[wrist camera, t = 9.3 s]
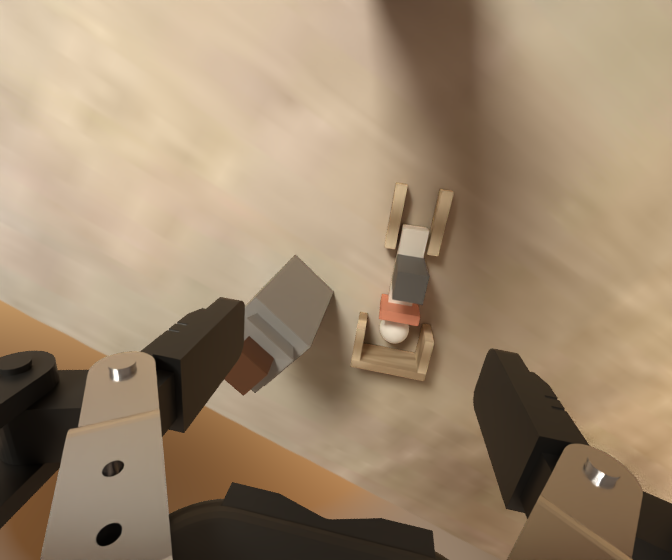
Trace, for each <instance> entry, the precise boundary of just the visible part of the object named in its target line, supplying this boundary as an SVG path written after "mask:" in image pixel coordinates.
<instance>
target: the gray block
mask: <svg viewBox="0 0 672 560" xmlns="http://www.w3.org/2000/svg"><path fill="white" fill-rule="evenodd" d="M428 235H429V230H428V228H426V227H419V226H413V225H407V224H403V225H402V230H401V235H400V240H399V245H398V250H397V255H396V260H395V265H394V270H393V275H392V280H391V285H390V290H389V295H386V294H382V297H381V302H380V314H379V319H382V320H387V321H392V322H398V323H403V324H409V325H414V326H418V324H419V320H420V312H419V306H418V304H420V305H423V301H424V297H425V293H426V289H427V285H428V281H429V277H430V276H429V273H428V270H427V266H426V263H425V260H424V258H423V257H424V253H425V248H426V244H427V240H428Z"/></svg>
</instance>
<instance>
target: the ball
mask: <svg viewBox="0 0 672 560" xmlns="http://www.w3.org/2000/svg"><path fill="white" fill-rule="evenodd" d="M408 333H409V325H408V324H403V323H398V322H392V321H387V320H382V321H381V323H380V334H381V336H382V337H383V339H384V340H386V341H387V342H389V343H394V344H395V343H400V342H402V341H404V340H405V339H406V337H407V336H408Z"/></svg>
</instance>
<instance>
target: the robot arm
mask: <svg viewBox="0 0 672 560" xmlns="http://www.w3.org/2000/svg"><path fill="white" fill-rule="evenodd" d="M244 323H245V305H244V302H243V301H239V300H234V299H228V298H223V297H220V298H219V299H217V300H216V301H215V302H214V303H213V304H211V305H210V306H209V307H208V308H207V309H203V308H202V309H199V310H197V311H194V312H191V313H189V314H187V315H186V316H185V317H183V318H182V319H181V320H179V321H178V322H177V324H174V325H173V326H172V327H171V328H169V331H166V332H164V333H163V334H162V335H160V336H159V337H158V338H157V339H155V340H154V341H153V342H152V343H150V344H149V345H148V346H147V347H145V348H144V349H143V350H141V351H140V352H137V351H129V352H121V353H117V354H113V355H110V356H107V357H105V358H103V359H101V360H99V361H98V362H96V363H95V364H94V365H93V366H92V367H91V368H90V369H89V370H57V366H56V360H55V357H54V356H53V355H52V354H50V353H48V352H44V351H25V352H18V353H14V354H10V355H6V356H3V357H0V528H2V527H3V526H4V524H6V522H7V521H8V520H9V519H10V518H11V517H12V516H13V515H14V514H15V513H16V512H17V511H18V510H19V509H20V508H21V507H22V506H23V505H24V504H25V503H26V502H27V501H28V500H29V499H30V498H31V497H32V496H33V494H35V493H36V492H37V491H38V490H39V488H41V486H43V484H44V483H45V482H46V481H47V480H48V479H49V478H50V477H51V476H52V475H53V474H54V473H55V472H56V471H57V470H58V469H59V468H60V469H59V474H58V478H57V483H56V488H55V493H54V497H53V502H52V507H51V511H50V516H49V521H48V525H47V530H46V535H45V540H44V544H43V549H42V554H41V559H40V560H448V559H447V558H445V557H444V556H442V555H441V554H439V553H437V552H435V550H434V541H433V531H432V530H427V529H423V528H419V527H415V526H411V525H407V524H402V523H398V522H394V521H390V520H386V519H382V518H376V519H375V518H373V519H336V520H335V519H334V520H332V519H326V518H323V517H321V516H319V515H318V514H316V513H314V512H312V511H310V510H308V509H306V508H305V507H303V506H301V505H299V504H297V503H296V502H294V501H292V500H290V499H288V498H286V497H285V496H283V495H281V494H279V493H275V492H271V491H266V490H262V489H258V488H254V487H250V486H246V485H241V484H238V483H233V482H232V484H231V486H230V488H229V490H228V492H227V494H226V496H225V499H216V500H210V501H203V502H199V503H196V504H192V505H189V506H187V507H184V508H181V509H179V510H177V511H175V512H173V513H171V514H168V501H167V490H166V478H165V467H164V455H163V444H162V437H163V435H164V434H165V433H166V432H167V430H168V429H169V430H174V431H178V432H182V433H184V432H185V431H186V430H187V428H188V427H189V426H190V424H191V423H192V422H193V420H194V419H195V417H196V416H197V415H198V413H199V412H200V411H201V409H202V408H203V407H204V405H205V404H206V403H207V401H208V400H209V399H210V397H211V396H212V395H213V393H214V392H215V391H216V389H217V388H218V387H219V385H220V384H221V383H222V381H223V380H224V378H225V377H226V376H227V374H228V373H229V372H230V370H231V369H232V368H233V366H234V365H235V364H236V362H237V361H238V359H239V358H240V355H241V353H242V350H243V345H244ZM473 403H474V410H475V413H476V416H477V419H478V422H479V425H480V429H481V432H482V435H483V438H484V441H485V444H486V447H487V451H488V454H489V457H490V460H491V463H492V466H493V469H494V473H495V476H496V479H497V482H498V485H499V488H500V491H501V495H502V498H503V501H504V504H505V507H506V509H509V510H514V511H518V512H522V513H525V514H526V517H527V519H528V520H527V521H526V523H525V525H524V527H523V529H522V531H521V533H520V535H519V537H518V539H517V541H516V543H515V545H514V547H513V549H512V551H511V553H510V554H509V556H508V558H507V560H672V504H671V503H669V502H667V501H664V500H662V499H660V498H657V497H655V496H653V495H650V494H648V493H646V492H644V491H642V487H641V485H640V483H639V481H638V480H637V479H636V477H635V476H634V475H633V474H632V473H631V472H630V471H629V470H628V469H627V468H626V467H625V466H624V465H623V464H622V463H620V462H619V461H618V460H616V459H615V458H613V457H612V456H610V455H608V454H607V453H605V452H603V451H601V450H599V449H596V448H594V447H591V446H589V444H588V443H587V441H586V440H585V438H584V437H583V435H582V434H581V432H580V431H579V429H578V428H577V426H576V425H575V423H574V422H573V420H572V419H571V417H570V416H569V414H568V413H567V412H566V411H564V409H565V408H564V407H563V405H562V404H561V403H560V401H559V400H557V397H556V395H555V394H554V392H553V391H552V389H551V388H550V386H549V385H548V384H547V383H546V382H545V381H543V380H542V379H541V378H540V377H539V376H538V375H536V374H535V373H534V372H529V370H528V368H527V367H526V365H525V364H524V362H523V360H522V359H521V357H520V356H519V354H517V353H514V352H508V351H503V350H498V349H490V350H489V351H488V353H487V355H486V358H485V361H484V364H483V367H482V370H481V373H480V375H479V378H478V381H477V384H476V387H475V391H474V398H473Z"/></svg>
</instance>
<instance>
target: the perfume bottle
mask: <svg viewBox="0 0 672 560" xmlns="http://www.w3.org/2000/svg"><path fill="white" fill-rule="evenodd" d="M333 292H334V291H333V290H332V289H331V288H329V287H328V286H327V285H326V284H325V283H324V282H323V281H322V280H321V279H320V278H319V277H318V276H317V275H316V274H315V273H314V272H313V271H312V270H311V269H310V268H309V267H308V266H307V265H306V264H305V263H304V262H303V261H302V260H301V259H300V258H299V257H298V256H297V255H296V254H295V256H294V257H293V258H292V259H291V260H290V261H289V262H288V263H287V264H286V265H285V266H284V267H283V268H282V269H281V270H280V271H279V272H278V273H277V274H276V275H275V276H274V277H273V278H272V279H271V280H270V281H269V282H268V283H267V284H266V285H265V286H264V287H263V288H262V289H261V290H260V291H259V292H258V293H257V294H256V295H255V296H254V297H253V298H252V299H251V301H250V302H249V303H248V304H247V305H246V306H245V323H244V345H243V350H242V353H241V355H240V358H239V359H238V361H237V362H236V364H235V365H234V366H233V368H232V369H231V370H230V372H229V373H228V374H227V376H226V377H225V378H224V379H225V380H226V381H227V382H228V383H229V384H230V385H232V386H233V387H234V388H235V389H236V390H237V391H239V392H240V393H241V394H242V395H243V396H244V395H245V394H246V393H247V392H248V391H249V390H252V391H253V392H254V393H256V392H257V391H258V390H259V389H261V388H262V387H263V386H265V385H266V384H268V383H269V382H270V381H271V380H272V379H274V378H275V377H276V376H277V375H278V374H279V373H281V372H282V371H283V370H284V369H285V368H287V367H288V366H289V365H290V364H291V363H292V362H294V361H295V360H296V359H297V358H298V357H300V356H301V355H302V354H303V353H304V352H305V351H307V350H308V349H309V348H310V347H311V344H312V342H313V340H314V337H315V335H316V332H317V330H318V328H319V325H320V323H321V321H322V318H323V316H324V313H325V311H326V309H327V306H328V304H329V302H330V299H331V297H332V294H333Z"/></svg>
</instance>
